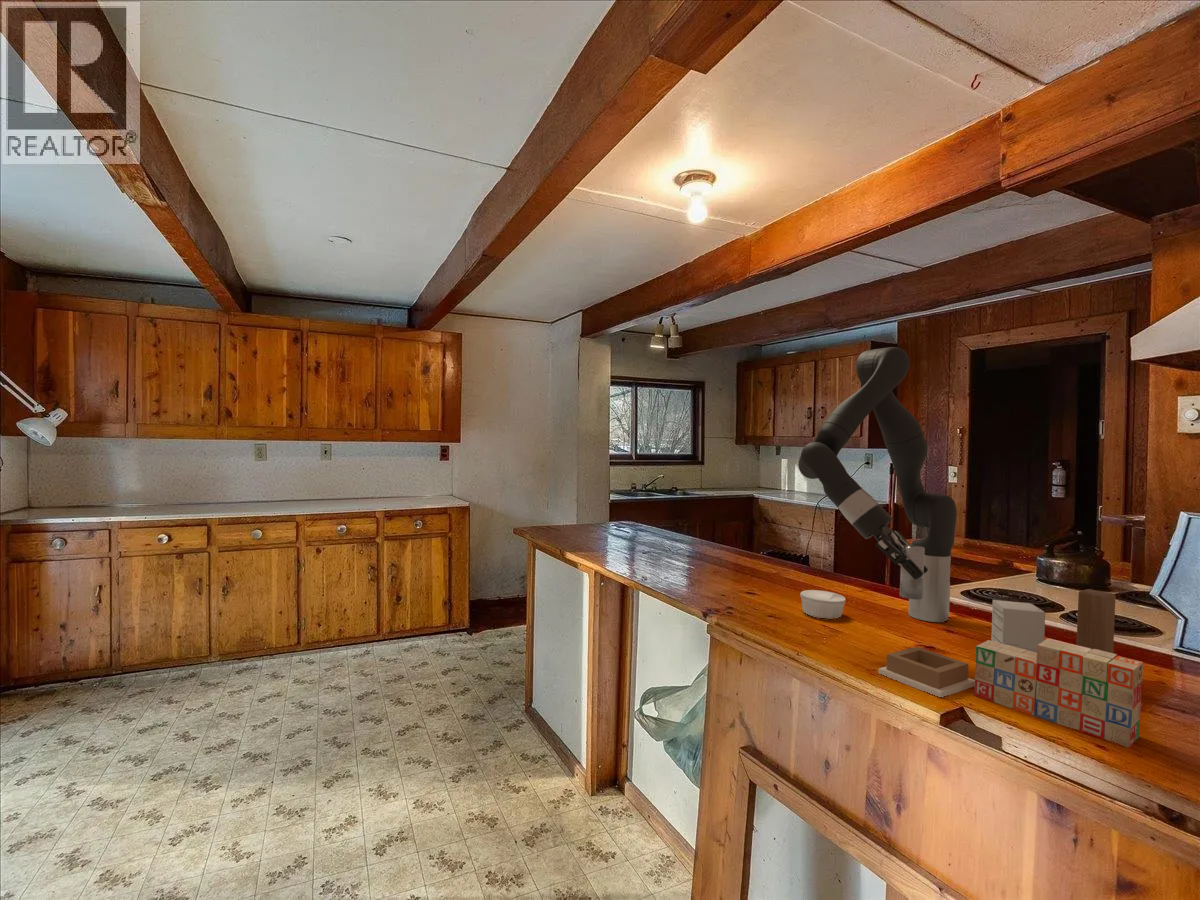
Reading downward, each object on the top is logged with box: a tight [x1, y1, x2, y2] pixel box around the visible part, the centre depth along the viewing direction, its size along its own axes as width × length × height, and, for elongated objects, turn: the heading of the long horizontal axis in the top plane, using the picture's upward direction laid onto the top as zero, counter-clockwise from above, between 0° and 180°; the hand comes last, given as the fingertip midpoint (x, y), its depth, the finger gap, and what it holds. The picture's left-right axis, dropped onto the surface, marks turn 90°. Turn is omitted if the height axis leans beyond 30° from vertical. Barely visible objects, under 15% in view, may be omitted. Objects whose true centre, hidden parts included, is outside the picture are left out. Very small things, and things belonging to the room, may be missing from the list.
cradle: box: [878, 646, 975, 698], centre depth 110 cm, size 12×12×4 cm
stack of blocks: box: [973, 637, 1144, 749], centre depth 96 cm, size 21×6×12 cm, turn 37°
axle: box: [899, 544, 925, 600], centre depth 124 cm, size 4×4×11 cm
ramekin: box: [799, 589, 846, 620], centre depth 152 cm, size 11×11×5 cm
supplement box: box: [990, 599, 1046, 653], centre depth 119 cm, size 7×7×13 cm
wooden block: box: [1075, 588, 1117, 654], centre depth 112 cm, size 9×4×18 cm, turn 121°
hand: (921, 574), depth 123 cm, fingers closed on axle, 4 cm apart
